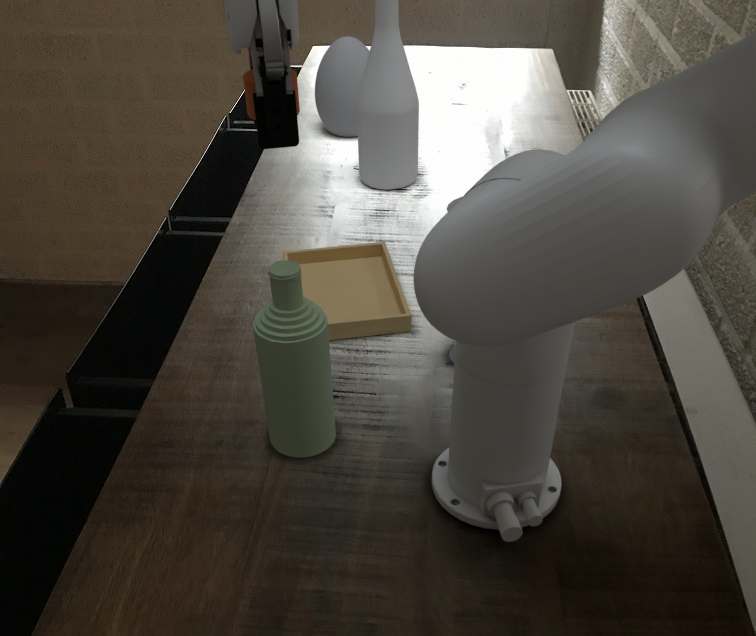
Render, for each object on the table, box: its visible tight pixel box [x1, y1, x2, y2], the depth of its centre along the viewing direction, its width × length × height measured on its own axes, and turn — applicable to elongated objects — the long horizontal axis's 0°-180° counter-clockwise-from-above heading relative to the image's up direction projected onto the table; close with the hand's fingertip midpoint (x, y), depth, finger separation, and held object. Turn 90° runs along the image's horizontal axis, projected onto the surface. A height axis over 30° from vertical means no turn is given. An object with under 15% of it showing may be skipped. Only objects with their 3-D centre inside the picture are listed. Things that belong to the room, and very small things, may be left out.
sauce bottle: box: [252, 259, 337, 459], centre depth 78 cm, size 7×7×20 cm
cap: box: [242, 67, 301, 121], centre depth 63 cm, size 4×4×3 cm
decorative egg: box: [314, 35, 370, 138], centre depth 140 cm, size 12×12×15 cm
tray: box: [282, 241, 412, 341], centre depth 103 cm, size 19×14×2 cm
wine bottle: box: [357, 0, 420, 191], centre depth 119 cm, size 10×10×30 cm
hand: (276, 132), depth 65 cm, fingers closed on cap, 4 cm apart
